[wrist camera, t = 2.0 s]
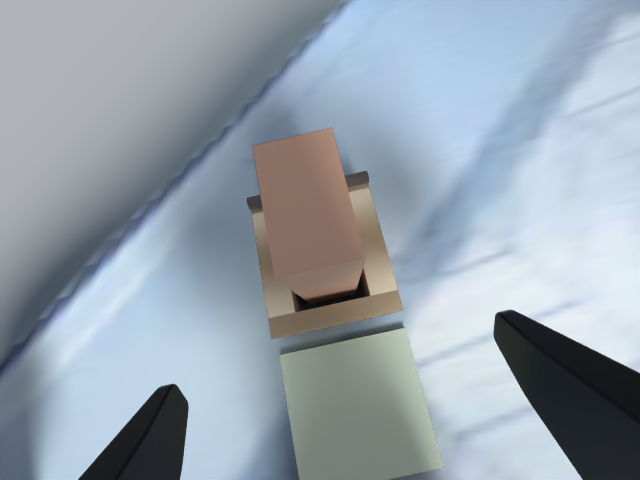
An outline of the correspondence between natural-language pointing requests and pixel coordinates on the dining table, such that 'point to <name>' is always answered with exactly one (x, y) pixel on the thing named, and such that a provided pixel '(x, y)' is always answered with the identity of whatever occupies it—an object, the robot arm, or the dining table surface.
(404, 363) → the pad
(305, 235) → the pinkish tan rectangular block
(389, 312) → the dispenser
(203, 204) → the dining table surface
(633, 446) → the robot arm
